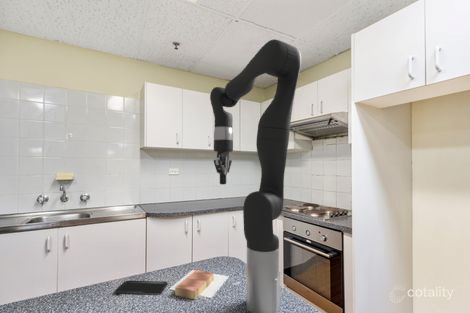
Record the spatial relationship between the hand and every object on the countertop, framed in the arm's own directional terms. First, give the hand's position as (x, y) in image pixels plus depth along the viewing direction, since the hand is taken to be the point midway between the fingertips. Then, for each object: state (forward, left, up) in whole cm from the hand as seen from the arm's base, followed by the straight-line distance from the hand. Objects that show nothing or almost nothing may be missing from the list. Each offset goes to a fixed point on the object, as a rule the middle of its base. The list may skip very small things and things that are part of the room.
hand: (223, 184), depth 94 cm
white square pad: (+3, +12, -33) cm, 35 cm away
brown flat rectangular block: (+3, +9, -31) cm, 33 cm away
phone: (+19, +22, -34) cm, 44 cm away
